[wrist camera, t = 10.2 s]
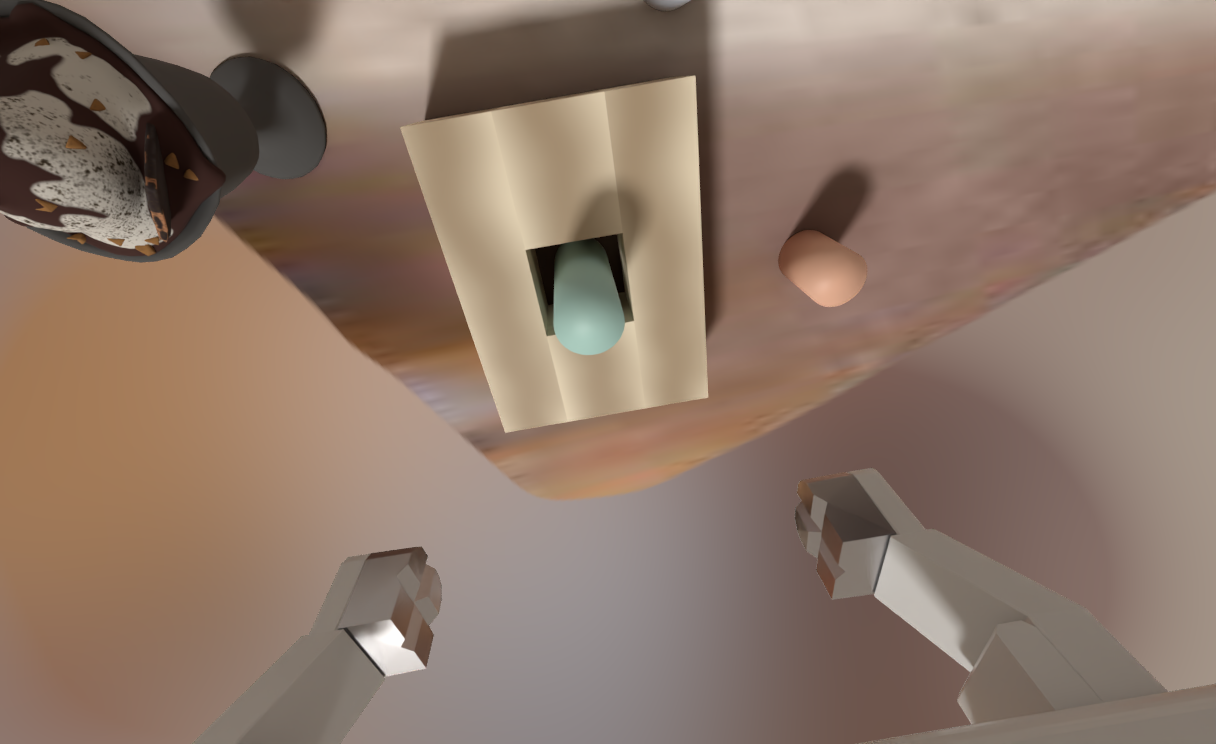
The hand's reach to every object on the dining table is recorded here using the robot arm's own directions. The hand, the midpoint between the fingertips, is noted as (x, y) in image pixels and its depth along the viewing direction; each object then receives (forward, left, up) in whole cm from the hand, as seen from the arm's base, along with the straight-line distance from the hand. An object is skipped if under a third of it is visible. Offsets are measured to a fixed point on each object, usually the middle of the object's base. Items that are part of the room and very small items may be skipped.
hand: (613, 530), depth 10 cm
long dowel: (0, 0, -19) cm, 19 cm away
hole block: (0, 0, -19) cm, 19 cm away
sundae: (+13, -9, -19) cm, 25 cm away
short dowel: (-13, +2, -19) cm, 23 cm away
